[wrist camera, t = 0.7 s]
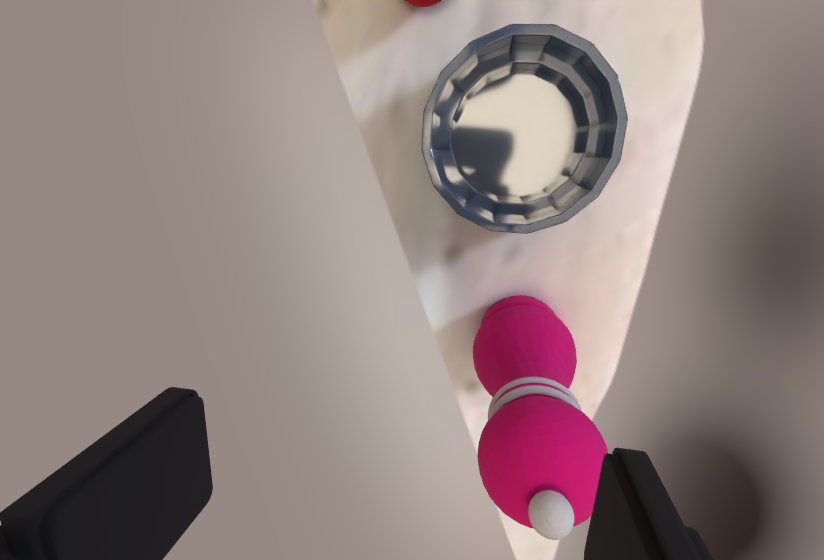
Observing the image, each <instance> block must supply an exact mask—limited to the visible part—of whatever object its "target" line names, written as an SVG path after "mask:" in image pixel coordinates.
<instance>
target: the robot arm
mask: <svg viewBox="0 0 824 560" xmlns="http://www.w3.org/2000/svg"><path fill="white" fill-rule="evenodd" d="M212 489H213V485H212V476H211V468H210V457H209V448H208V440H207V430H206V421H205V413H204V403H203V400H202V398H201V397H198V394H197V392H196V391H194V390H191V389H184V388H176V387H170V388H168V389H166V390H165V391H163V392H162V393H161V394H159V395H158V396H157V397H155V398H154V399H153V400H151V401H150V402H148V403H147V404H146V405H145V406H143V407H142V408H140V409H139V410H138V411H136V412H135V413H134V414H132V415H131V416H130V417H128V418H127V419H126V420H124V421H123V422H122V423H120V424H119V425H118V426H116V427H115V428H114V429H112V430H111V431H109V432H108V433H107V434H105V435H104V436H103V437H101V438H100V439H99V440H97V441H96V442H95V443H93V444H92V445H91V446H89V447H88V448H87V449H85V450H84V451H82V452H81V453H80V454H78V455H77V456H76V457H74V458H73V459H72V460H70V461H69V462H68V463H66V464H65V465H64V466H62V467H61V468H60V469H58V470H57V471H55V472H54V473H53V474H51V475H50V476H49V477H47V478H46V479H45V480H43V481H42V482H41V483H40V484H38V485H37V486H35V487H34V488H33V489H31V490H30V491H29V492H28V493H26V494H25V495H23V496H22V497H21V498H19V499H18V500H17V501H15V502H14V503H12V504H11V505H10V506H8V507H7V508H6V509H4V510H3V511H2V512H0V521H1V524H2V525H1V526H0V560H163V558H164V557H165V556H166V554H167V553H168V552H169V551H170V550H171V548H172V547H173V546H174V544H175V543H176V542H177V541H178V540H179V538H180V537H181V536H182V535H183V533H184V532H185V530H186V529H187V528H188V527H189V526H190V524H191V523H192V522H193V521H194V519H195V518H196V517H197V516H198V514H199V513H200V512H201V511H202V509H203V508H204V507H205V506H206V504H207V503H208V501H209V499H210V497H211V494H212ZM584 560H713V558H712V556H711V555H710V553H709V551H708V549H707V547H706V545H705V544H704V542H703V540H702V538H701V537H700V535H699V534H698V532H697V531H696V530H694V529H693V528H692V527H687V526H684V524H683V522H682V520H681V518H680V516H679V514H678V512H677V511H676V509H675V507H674V505H673V503H672V501H671V499H670V497H669V495H668V493H667V491H666V489H665V487H664V485H663V484H662V482H661V480H660V478H659V476H658V474H657V472H656V470H655V468H654V466H653V464H652V462H651V461H650V459H649V457H648V455H647V454H646V452H644V451H637V450H630V449H623V448H615V449H614V451H613V453H612V454H607V453H606V454H605V455H604V457H603V461H602V466H601V471H600V476H599V481H598V486H597V491H596V496H595V501H594V506H593V511H592V516H591V521H590V526H589V531H588V536H587V541H586V546H585V551H584Z"/></svg>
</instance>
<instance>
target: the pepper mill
mask: <svg viewBox="0 0 824 560" xmlns="http://www.w3.org/2000/svg"><path fill="white" fill-rule="evenodd" d="M473 359H474V365H475V370H476V373H477V375H478V377H479V379H480V381H481V382H482V384H483V386H484V388H485V389H486V390H487V391H488V393H489V394H490V395H491V396H492V397H493V399H492V401H491V403H490V406H489V411H488V422H487V423H486V425H485V427H484V429H483V431H482V434H481V437H480V441H479V446H478V464H479V470H480V475H481V478H482V481H483V484H484V486H485V488H486V490H487V492H488V494H489V496H490V498H491V499H492V500H493V501H494V503H495V504H496V505H497V506H498V507H499V508H500V509H501V510H502V512H503V513H504V514H506V515H507V516H509V517H510V518H512V519H513V520H515V521H516V522H518V523H520V524H522V525H525V526H527V527H530V528H534V529H535V530H536V531H537V532H538V533H539V534H540V535H541V536H543V537H545V538H547V539H552V540H558V539H561V538H563V537H565V536H567V535H568V534H569V533H570V532H571V530H572V527H573V526H576V525H578V524H580V523H582V522H584V521H585V520H587V519H588V518H589V517H590V516H591V515H592V511H593V506H594V501H595V496H596V491H597V486H598V481H599V476H600V471H601V466H602V461H603V457H604V455H605V454H606V453H607V454H608V451H607V447H606V444H605V442H604V440H603V438H602V435H601V434H600V432H599V431H598V429H597V428H596V426H595V425H594V423H593V422H592V421H591V420H590V419H589V418H588V417H587V416H586V415H585V414H584V413H583V412H582V411H581V408H580V405H579V403H578V401H577V399H576V398H575V396H574V395H573V394H572V393H571V392H570V390H568V389H569V387H570V385H571V383H572V381H573V377H574V373H575V368H576V363H577V360H576V349H575V345H574V341H573V338H572V335H571V334H570V332H569V330H568V328H567V327H566V326H565V325H564V324H563V322H562V321H561V320H559V319H558V318H557V317H556V316H555V314H554V313H553V311H552V310H551V309H550V308H549V307H548V306H547V305H546V304H544V303H543V302H541V301H539V300H537V299H535V298H532V297H528V296H512V297H508V298H504V299H502V300H500V301H498V302H497V303H495V304H494V305H493V306H492V307H491V308H490V309H489V310H488V311H487V312H486V314H485V316H484V318H483V320H482V323H481V327H480V329H479V331H478V333H477V335H476V337H475V341H474V345H473Z"/></svg>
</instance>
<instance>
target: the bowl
mask: <svg viewBox="0 0 824 560" xmlns="http://www.w3.org/2000/svg"><path fill="white" fill-rule="evenodd" d="M627 121H628V116H627V112H626V107H625V103H624V98H623V94H622V90H621V85H620V81H619V77H618V75H617V74H616V73H615V71H614V70H613V69H612V67H611V66H610V65H609V64H608V62H607V61H606V60H605V58H604V57H603V56H602V55H601V53H600V52H599V51H598V49H597V48H596V47H595V46H594V44H592V43H591V42H590V41H588V40H586V39H584V38H581V37H579V36H577V35H575V34H573V33H571V32H569V31H567V30H565V29H563V28H561V27H559V26H557V25H553V24H512V25H511V24H510V25H508V26H505V27H503V28H501V29H498V30H496V31H494V32H491V33H489V34H487V35H484V36H482V37H480V38H477V39H475V40H473V41H472V42H470V43H469V44H468V45H467V46H466V47H465V48H464V49H463V50H462V51H461V52H460V53H459V54H458V55H457V56H456V57H455V58H454V59H453V60H452V61H451V62H450V63H449V64H448V65H447V66H446V67H445V68H444V69H443V70H442V71H441V73H440V75H439V77H438V79H437V82H436V84H435V86H434V88H433V91H432V93H431V95H430V97H429V100H428V102H427V104H426V106H425V109H424V116H423V135H422V153H423V156H424V159H425V162H426V165H427V168H428V171H429V174H430V177H431V180H432V183H433V186H434V187H435V188H436V190H437V191H438V192H439V193H440V194H441V195H442V197H443V198H444V199H445V200H446V201H447V202H448V204H449V205H450V206H451V207H452V208H453V209H454V211H455V212H456V213H457V214H458V215H460V216H462V217H464V218H466V219H468V220H470V221H472V222H474V223H476V224H478V225H480V226H482V227H484V228H486V229H488V230H491V231H499V232H512V233H525V234H528V233H532V232H535V231H538V230H542V229H545V228H548V227H551V226H555V225H558V224H561V223H564V222H566V221H568V220H569V219H570V218H572V217H573V216H574V215H575V214H577V213H578V212H579V211H581V210H582V209H583V208H584V207H586V206H587V205H588V204H590V203H591V202H592V201H593V200H595V199H596V198H597V197H598V196H599V195H600V193H601V191H602V190H603V188H604V186H605V185H606V183H607V182H608V180H609V178H610V177H611V175H612V173H613V172H614V170H615V169H616V167H617V165H618V164H619V162H620V160H621V154H622V149H623V143H624V138H625V132H626V126H627Z"/></svg>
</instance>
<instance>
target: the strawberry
mask: <svg viewBox="0 0 824 560" xmlns="http://www.w3.org/2000/svg"><path fill="white" fill-rule="evenodd" d="M405 1H407V2H408V3H410V4H412V5H415V6H419V7H427V6H431V5H434V4H436V3H438V2H440V1H441V0H405Z"/></svg>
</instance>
